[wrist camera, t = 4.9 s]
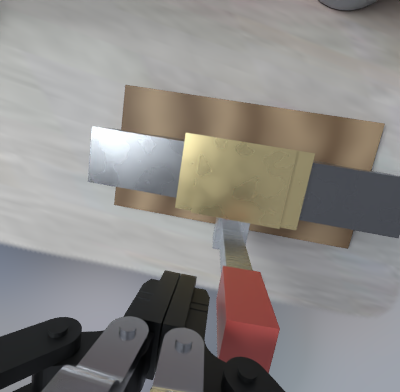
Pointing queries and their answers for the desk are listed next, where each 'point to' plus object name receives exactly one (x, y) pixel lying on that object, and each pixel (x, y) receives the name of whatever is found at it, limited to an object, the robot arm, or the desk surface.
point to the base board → (251, 133)
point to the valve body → (246, 181)
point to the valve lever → (242, 300)
